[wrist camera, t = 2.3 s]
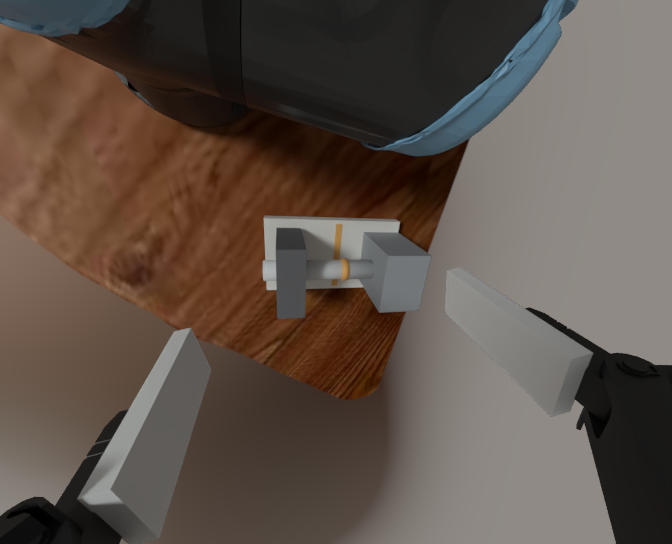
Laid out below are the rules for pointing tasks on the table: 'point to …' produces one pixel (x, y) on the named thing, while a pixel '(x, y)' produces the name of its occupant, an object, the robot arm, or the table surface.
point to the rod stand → (355, 258)
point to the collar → (290, 273)
